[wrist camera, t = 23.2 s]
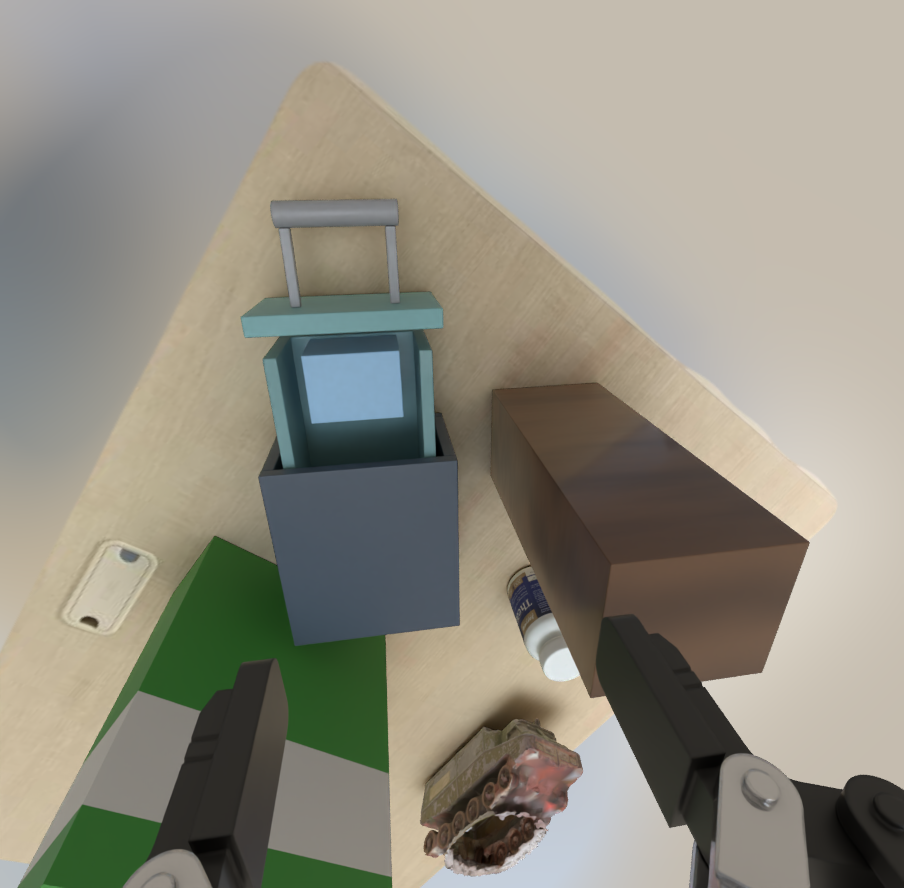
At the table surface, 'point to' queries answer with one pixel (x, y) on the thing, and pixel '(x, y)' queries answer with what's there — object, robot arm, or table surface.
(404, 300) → the drawer
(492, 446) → the wooden stand
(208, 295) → the table surface
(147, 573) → the table surface
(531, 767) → the decorative box
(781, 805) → the robot arm
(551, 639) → the pill bottle
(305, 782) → the hardback book
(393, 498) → the cabinet
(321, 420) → the blue rectangular block
